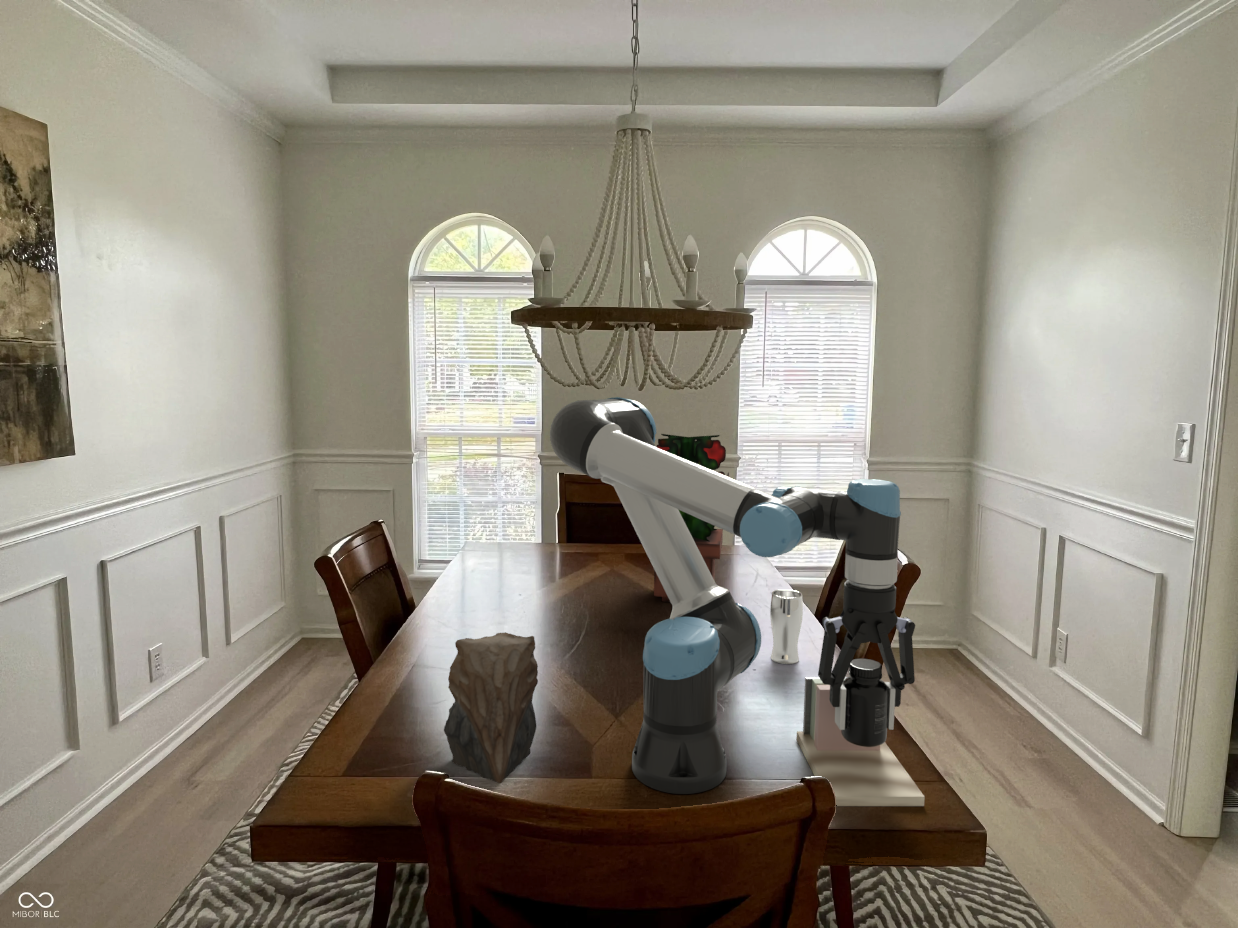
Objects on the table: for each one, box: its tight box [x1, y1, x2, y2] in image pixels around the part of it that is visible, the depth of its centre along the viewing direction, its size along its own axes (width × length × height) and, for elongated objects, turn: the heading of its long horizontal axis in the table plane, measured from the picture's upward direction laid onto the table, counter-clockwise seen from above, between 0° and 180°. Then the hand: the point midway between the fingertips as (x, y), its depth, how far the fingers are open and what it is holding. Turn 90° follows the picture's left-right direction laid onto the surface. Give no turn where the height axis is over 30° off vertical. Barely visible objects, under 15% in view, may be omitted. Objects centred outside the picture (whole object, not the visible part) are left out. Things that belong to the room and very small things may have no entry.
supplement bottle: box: [841, 658, 888, 747], centre depth 117 cm, size 7×7×12 cm
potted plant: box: [645, 433, 730, 603], centre depth 210 cm, size 22×22×45 cm
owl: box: [443, 632, 539, 784], centre depth 124 cm, size 13×13×20 cm
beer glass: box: [769, 588, 804, 665], centre depth 166 cm, size 7×7×15 cm
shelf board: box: [796, 730, 926, 807], centre depth 121 cm, size 20×14×2 cm
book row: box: [810, 679, 880, 750], centre depth 127 cm, size 5×10×10 cm, turn 91°
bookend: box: [802, 676, 848, 735], centre depth 130 cm, size 1×12×10 cm, turn 91°
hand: (863, 725), depth 118 cm, fingers closed on supplement bottle, 7 cm apart
